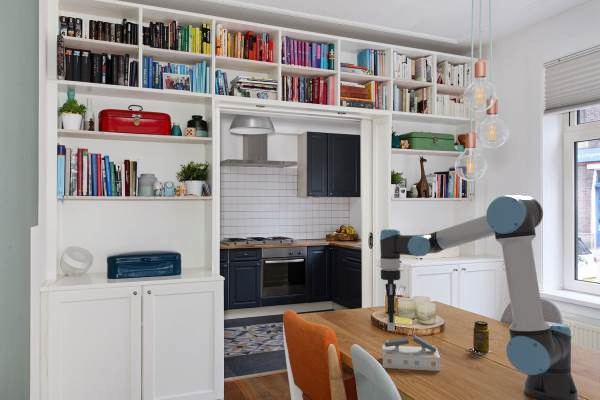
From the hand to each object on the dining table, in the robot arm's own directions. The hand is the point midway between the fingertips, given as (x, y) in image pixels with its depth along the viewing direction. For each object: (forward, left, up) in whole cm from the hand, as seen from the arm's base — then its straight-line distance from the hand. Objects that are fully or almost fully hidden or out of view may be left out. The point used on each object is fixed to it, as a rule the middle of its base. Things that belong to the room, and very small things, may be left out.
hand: (391, 330), depth 184 cm
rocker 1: (0, -2, -5) cm, 5 cm away
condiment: (+22, -37, -13) cm, 45 cm away
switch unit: (0, -7, -13) cm, 15 cm away
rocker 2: (0, -12, -5) cm, 13 cm away
